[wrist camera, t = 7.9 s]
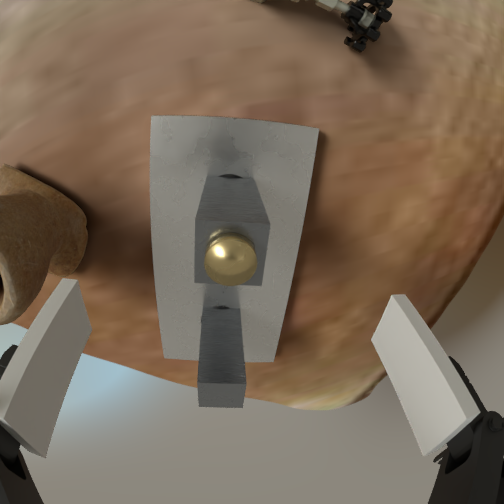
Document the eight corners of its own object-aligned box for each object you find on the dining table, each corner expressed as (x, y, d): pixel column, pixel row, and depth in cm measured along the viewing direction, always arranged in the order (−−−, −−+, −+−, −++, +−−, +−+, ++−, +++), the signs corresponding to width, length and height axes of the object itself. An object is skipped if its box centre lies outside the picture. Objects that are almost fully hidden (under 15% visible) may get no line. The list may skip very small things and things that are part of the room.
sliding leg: (254, 179, 24) (273, 232, 15) (249, 222, 26) (263, 296, 17) (206, 176, 24) (193, 227, 14) (204, 220, 25) (192, 293, 16)
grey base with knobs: (314, 127, 24) (373, 146, 14) (272, 353, 37) (285, 428, 27) (155, 115, 22) (103, 124, 12) (165, 349, 35) (153, 425, 25)
